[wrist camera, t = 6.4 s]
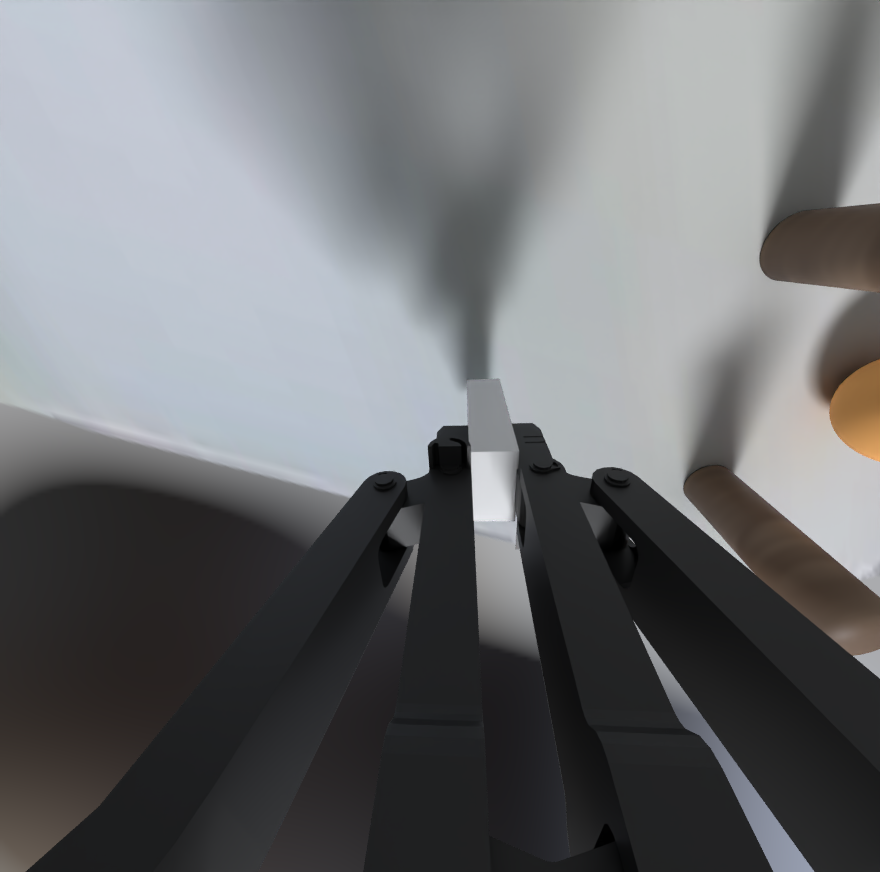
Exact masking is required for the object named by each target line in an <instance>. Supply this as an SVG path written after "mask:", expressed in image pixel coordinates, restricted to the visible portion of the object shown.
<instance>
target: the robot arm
mask: <svg viewBox="0 0 880 872" xmlns="http://www.w3.org/2000/svg"><path fill="white" fill-rule="evenodd" d="M467 417H468V426H443V427H442V428H441V429H440V430H439V431H438V432H437V439H435V440H433V441H432V442H430V444H429V445H428V456H429V473H428V474H426V475H425V476H423V477H420V478H417V479H414V480H409V481H406V479H405V476H403V475H402V474H400V473H397V472H394V471H384V472H379V473H376V474H374V475H372V476H370V477H369V478H367V479H366V480H365V481H364V482H363V484H362V485H361V486H360V487H359V488H358V490H357V491H356V492H355V493H354V495H353V496H352V497H351V498H350V499H349V501H348V502H347V503H346V504H345V506H344V507H343V508H342V509H341V511H340V512H339V513H338V514H337V515H336V517H335V518H334V519H333V520H332V522H331V523H330V524H329V525H328V526H327V528H326V529H325V530H324V531H323V533H322V534H321V535H320V536H319V538H318V539H317V540H316V541H315V542H314V544H313V545H312V546H311V547H310V549H309V550H308V551H307V552H306V554H305V555H304V556H303V557H302V559H301V560H300V561H299V562H298V563H297V565H296V566H295V567H294V568H293V570H292V571H291V572H290V573H289V574H288V576H287V577H286V578H285V579H284V580H283V582H282V583H281V584H280V585H279V587H278V588H277V589H276V590H275V591H274V593H273V594H272V595H271V596H270V598H269V599H268V600H267V601H266V602H265V604H264V605H263V606H262V607H261V609H260V610H259V611H258V612H257V613H256V615H255V616H254V617H253V618H252V620H251V621H250V622H249V623H248V624H247V626H246V627H245V628H244V630H243V631H242V632H241V633H240V634H239V636H238V637H237V638H236V639H235V641H234V642H233V643H232V644H231V645H230V647H229V648H228V649H227V650H226V651H225V653H224V654H223V655H222V656H221V658H220V659H219V660H218V661H217V663H216V664H215V665H214V666H213V668H212V669H211V670H210V671H209V672H208V674H207V675H206V676H205V677H204V679H203V680H202V681H201V682H200V683H199V685H198V686H197V687H196V688H195V689H194V691H193V692H192V693H191V695H190V696H189V697H188V698H187V699H186V701H185V702H184V703H183V704H182V705H181V707H180V708H179V709H178V711H177V712H176V713H175V714H174V715H173V716H172V718H171V719H170V720H169V721H168V723H167V724H166V725H165V726H164V728H163V729H162V730H161V731H160V732H159V734H158V735H157V736H156V737H155V738H154V740H153V741H152V742H151V744H150V745H149V746H148V747H147V748H146V750H145V751H144V752H143V753H142V754H141V756H140V757H139V758H138V759H137V761H136V762H135V763H134V764H133V765H132V767H131V768H130V769H129V770H128V772H127V773H126V774H125V775H124V776H123V778H122V779H121V780H120V781H119V783H118V784H117V785H116V786H115V788H114V789H113V790H112V791H111V792H110V794H109V795H108V796H107V797H106V799H105V800H104V801H103V802H102V803H101V805H100V806H99V807H98V808H97V809H96V810H94V811H93V812H92V813H91V814H90V815H89V816H88V817H87V818H85V819H84V821H82V822H81V823H80V824H79V825H78V826H76V827H75V829H73V830H72V831H71V832H70V833H69V834H67V835H66V836H65V837H64V838H63V839H62V840H61V841H60V842H59V843H57V844H56V845H55V846H54V847H53V848H52V849H51V850H50V851H48V852H47V853H46V854H45V855H44V856H43V857H42V858H41V859H39V860H38V861H37V862H36V863H35V864H34V865H33V866H32V867H30V869H28V870H27V871H26V872H258V870H259V869H260V867H261V865H262V863H263V861H264V859H265V857H266V855H267V853H268V851H269V849H270V847H271V845H272V843H273V841H274V838H275V836H276V834H277V832H278V830H279V828H280V826H281V824H282V822H283V820H284V818H285V816H286V813H287V811H288V809H289V807H290V805H291V803H292V801H293V799H294V797H295V795H296V792H297V791H298V788H299V786H300V784H301V782H302V780H303V778H304V776H305V774H306V772H307V770H308V768H309V766H310V764H311V761H312V759H313V757H314V755H315V753H316V751H317V749H318V747H319V745H320V743H321V740H322V738H323V736H324V734H325V732H326V730H327V728H328V726H329V724H330V722H331V720H332V718H333V716H334V714H335V711H336V709H337V707H338V705H339V703H340V701H341V699H342V697H343V695H344V693H345V690H346V688H347V686H348V684H349V682H350V680H351V678H352V676H353V674H354V672H355V670H356V668H357V666H358V664H359V662H360V659H361V657H362V655H363V653H364V651H365V649H366V647H367V645H368V643H369V641H370V639H371V637H372V634H373V632H374V630H375V628H376V626H377V624H378V622H379V620H380V618H381V616H382V614H383V612H384V609H385V607H386V605H387V603H388V601H389V599H390V597H391V595H392V593H393V591H394V589H395V587H396V584H397V582H398V580H399V578H400V576H401V574H402V572H403V570H404V568H405V566H406V564H407V562H408V559H409V557H410V555H411V553H412V551H413V546H414V545H415V544H419V548H418V555H417V562H416V570H415V576H414V583H413V590H412V597H411V605H410V612H409V619H408V626H407V633H406V641H405V647H404V654H403V662H402V669H401V676H400V683H399V690H398V697H397V704H396V710H395V714H394V717H393V719H392V721H391V722H390V723H389V725H388V728H387V731H386V735H385V739H384V745H383V750H382V756H381V762H380V768H379V774H378V781H377V787H376V794H375V800H374V807H373V813H372V819H371V826H370V833H369V839H368V845H367V851H366V858H365V865H364V871H363V872H773V870H772V868H771V866H770V864H769V862H768V860H767V859H766V856H765V854H764V852H763V850H762V848H761V846H760V844H759V842H758V840H757V838H756V836H755V834H754V832H753V830H752V828H751V826H750V824H749V822H748V820H747V818H746V816H745V814H744V812H743V810H742V808H741V806H740V804H739V802H738V800H737V797H736V796H735V793H734V791H733V789H732V787H731V785H730V783H729V781H728V779H727V777H726V775H725V773H724V771H723V769H722V768H721V765H720V764H719V762H718V760H717V759H716V757H715V755H714V753H713V752H712V750H711V748H710V747H709V746H708V745H707V744H706V743H705V742H704V740H703V739H702V738H701V737H700V736H699V735H697V734H695V733H693V732H691V731H689V730H687V729H685V728H684V727H683V725H682V724H681V723H680V722H679V720H678V718H677V716H676V714H675V712H674V710H673V708H672V706H671V704H670V702H669V699H668V697H667V695H666V693H665V690H664V688H663V686H662V684H661V681H660V679H659V677H658V675H657V672H656V670H655V668H654V666H653V664H652V661H651V659H650V657H649V655H648V653H647V651H646V648H645V646H644V644H643V641H642V639H641V637H640V635H639V632H638V630H637V628H636V626H635V624H634V622H635V623H636V625H637V626H638V628H639V629H640V630H641V632H642V633H643V634H644V636H645V637H646V639H647V640H648V641H649V642H650V644H651V646H652V647H653V648H654V650H655V651H656V652H657V654H658V655H659V657H660V658H661V659H662V661H663V662H664V663H665V665H666V666H667V668H668V669H669V670H670V672H671V673H672V675H673V676H674V677H675V679H676V680H677V681H678V683H679V684H680V686H681V687H682V688H683V690H684V691H685V693H686V694H687V695H688V697H689V698H690V700H691V701H692V702H693V704H694V705H695V706H696V708H697V709H698V711H699V712H700V713H701V715H702V716H703V718H704V719H705V720H706V721H707V723H708V724H709V726H710V727H711V729H712V730H713V731H714V733H715V734H716V736H717V737H718V738H719V740H720V741H721V743H722V744H723V745H724V747H725V748H726V749H727V751H728V752H729V754H730V755H731V756H732V758H733V759H734V761H735V762H736V763H737V765H738V766H739V767H740V769H741V770H742V772H743V773H744V774H745V776H746V777H747V779H748V780H749V781H750V783H751V784H752V785H753V787H754V788H755V790H756V791H757V792H758V794H759V795H760V797H761V798H762V799H763V801H764V802H765V804H766V805H767V806H768V808H769V809H770V810H771V812H772V813H773V815H774V816H775V817H776V819H777V820H778V821H779V823H780V824H781V826H782V827H783V829H784V830H785V831H786V833H787V834H788V835H789V837H790V838H791V840H792V841H793V842H794V844H795V845H796V847H797V848H798V849H799V851H800V852H801V853H802V855H803V856H804V858H805V859H806V860H807V862H808V863H809V865H810V866H811V867H812V869H813V870H814V871H815V872H880V679H879V678H878V677H877V676H876V675H875V674H873V673H872V672H871V671H870V670H869V669H867V668H866V667H865V666H864V665H863V664H861V663H860V662H859V661H858V660H857V659H855V658H854V657H853V656H852V655H851V654H850V653H848V652H847V651H846V650H845V649H844V648H842V647H841V646H840V645H839V644H838V643H836V642H835V641H834V640H833V639H832V638H830V637H829V636H828V635H827V634H826V633H824V632H823V631H822V630H821V629H820V628H818V627H817V626H816V625H815V624H814V623H812V622H811V621H810V620H809V619H808V618H806V617H805V616H804V615H803V614H802V613H800V612H799V611H798V610H797V609H796V608H794V607H793V606H792V605H791V604H790V603H788V602H787V601H786V600H785V599H784V598H783V597H781V596H780V595H779V594H778V593H777V592H775V591H774V590H773V589H772V588H771V587H769V586H768V585H767V584H766V583H765V582H763V581H762V580H761V579H760V578H759V577H757V576H756V575H755V574H754V573H753V572H751V571H750V570H749V569H748V568H747V567H745V566H744V565H743V564H742V563H741V562H739V561H738V560H737V559H736V558H735V557H733V556H732V555H731V554H730V553H729V552H727V551H726V550H725V549H724V548H723V547H721V546H720V545H719V544H718V543H717V542H715V541H714V540H713V539H712V538H711V537H709V536H708V535H707V534H706V533H705V532H703V531H702V530H701V529H700V528H699V527H698V526H696V525H695V524H694V523H693V522H692V521H690V520H689V519H688V518H687V517H686V516H684V515H683V514H682V513H681V512H680V511H678V510H677V509H676V508H675V507H674V506H672V505H671V504H670V503H669V502H668V501H666V500H665V499H664V498H663V497H662V496H660V495H659V494H658V493H657V492H656V491H654V490H653V489H652V488H651V487H650V486H648V485H647V484H646V483H645V482H644V481H642V480H641V479H640V478H639V477H638V476H636V475H634V474H633V473H631V472H629V471H626V470H623V469H621V468H615V467H607V468H601V469H597V470H596V471H595V472H594V473H593V476H592V479H589V478H584V477H578V476H574V475H571V474H568V473H567V472H566V470H565V468H564V466H563V465H562V464H561V463H560V462H558V461H556V460H555V459H553V458H552V456H551V453H550V451H549V449H548V446H547V444H546V443H545V439H544V437H543V434H542V432H541V430H540V429H539V428H538V427H537V426H535V425H534V424H533V423H518V424H512V423H511V419H510V416H509V412H508V408H507V405H506V401H505V397H504V394H503V390H502V386H501V383H500V379H475V380H467ZM515 513H516V515H517V533H516V549H519V548H520V553H521V558H522V564H523V569H524V575H525V580H526V586H527V591H528V596H529V602H530V607H531V612H532V618H533V623H534V629H535V634H536V639H537V645H538V650H539V656H540V661H541V667H542V672H543V678H544V683H545V689H546V694H547V699H548V705H549V710H550V716H551V721H552V727H553V732H554V738H555V743H556V748H557V754H558V759H559V765H560V770H561V775H562V781H563V786H564V793H565V802H566V822H567V833H568V843H569V850H570V856H571V857H570V858H567V859H564V860H561V861H558V862H548V861H545V860H543V859H540V858H538V857H535V856H534V855H531V854H529V853H527V852H525V851H522V850H520V849H518V848H515V847H513V846H511V845H508V844H506V843H504V842H502V841H500V840H497V839H495V838H493V837H490V836H489V822H488V802H487V781H486V760H485V740H484V727H483V717H482V698H481V674H480V655H479V653H480V652H479V633H478V632H479V631H478V609H477V608H478V607H477V585H476V564H475V541H474V521H515ZM629 537H630V538H631V539H632V540H633V542H634V543H635V544H634V543H633V542H632V541H631V540H630V539H629Z"/></svg>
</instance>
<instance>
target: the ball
mask: <svg viewBox="0 0 880 872" xmlns="http://www.w3.org/2000/svg"><path fill="white" fill-rule="evenodd" d="M829 414H830V421H831V424H832V426H833V429H834V431H835V432H836V434H837V435H838V437H839V438H840V439H841V440H842V441H843V442H844V443H845V444H846V445H848V446H849V447H850V448H852V449H853V450H854V451H856V452H858V453H860V454H862V455H863V456H866V457H868V458H870V459H873V460H876V461H879V462H880V359H878V360H876V361H873V362H871V363H869V364H867V365H865V366H863V367H861V368H860V369H858V370H857V371H855V372H854V373H852V374H851V375H850V376H849V377H848V378H846V379H845V380H844V381H843V382H842V383H841V385H840V386H839V387H838V389H837V390H836V392H835V393H834V396H833V398H832V400H831V404H830V411H829Z"/></svg>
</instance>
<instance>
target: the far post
mask: <svg viewBox="0 0 880 872" xmlns="http://www.w3.org/2000/svg"><path fill="white" fill-rule="evenodd" d="M684 494H685V496H686V497H687V498H688V499H689V500H690V501H691V502H692V504H693V505H694V506H695V507H696V508H697V509H698V510H699V511H700V513H701V514H702V515H703V516H704V517H705V518H706V519H707V521H708V522H709V523H710V524H711V525H712V526H713V527H714V528H715V530H716V531H717V532H718V533H719V534H720V535H721V536H722V537H723V539H724V540H725V541H726V542H727V543H728V544H729V545H730V546H731V548H732V549H733V550H734V551H735V552H736V553H737V554H738V556H739V557H740V558H741V559H742V560H743V561H744V562H745V563H746V565H747V566H748V567H749V568H750V569H751V570H752V571H753V572H754V574H755V575H756V576H757V577H759V578H760V579H761V580H762V581H763V582H765V583H766V584H767V585H768V586H769V587H771V588H772V589H773V590H774V591H775V592H777V593H778V594H779V595H780V596H781V597H783V598H784V599H785V600H786V601H787V602H788V603H790V604H791V605H792V606H793V607H794V608H796V609H797V610H798V611H799V612H800V613H802V614H803V615H804V616H805V617H806V618H808V619H809V620H810V621H811V622H812V623H814V624H815V625H816V626H817V627H818V628H820V629H821V630H822V631H823V632H824V633H826V634H827V635H828V636H829V637H830V638H832V639H833V640H834V641H835V642H836V643H838V644H839V645H840V646H841V647H842V648H844V649H845V650H846V651H847V652H848V653H850V654H851V655H852V656H854V655H861V654H865V653H869V652H872V651H875V650H878V649H880V597H879V596H877V595H876V594H875V593H874V592H873V591H871V590H870V589H869V588H868V587H867V586H866V585H864V584H863V583H862V582H861V581H860V580H859V579H857V578H856V577H855V576H854V575H853V574H851V573H850V572H849V571H848V570H847V569H846V568H844V567H843V566H842V565H841V564H840V563H838V562H837V561H836V560H835V559H834V558H833V557H831V556H830V555H829V554H828V553H827V552H825V551H824V550H823V549H822V548H821V547H820V546H818V545H817V544H816V543H815V542H814V541H813V540H811V539H810V538H809V537H808V536H807V535H805V534H804V533H803V532H802V531H801V530H800V529H798V528H797V527H796V526H795V525H794V524H792V523H791V522H790V521H789V520H788V519H787V518H785V517H784V516H783V515H782V514H781V513H779V512H778V511H777V510H776V509H775V508H774V507H772V506H771V505H770V504H769V503H768V502H767V501H765V500H764V499H763V498H762V497H761V496H759V495H758V494H757V493H756V492H755V491H754V490H752V489H751V488H750V487H749V486H748V485H746V484H745V483H744V482H743V481H742V480H741V479H739V478H738V477H737V476H736V475H735V474H733V473H732V472H731V471H730V470H729V469H727V468H726V467H723V466H719V465H712V466H707V467H703V468H701V469H699V470H697V471H695V472H694V473H693V474H691V475H690V476H689V477H688V479H687V480H686V482H685V484H684Z"/></svg>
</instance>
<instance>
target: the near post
mask: <svg viewBox="0 0 880 872" xmlns="http://www.w3.org/2000/svg"><path fill="white" fill-rule="evenodd" d="M760 265H761V268H762V271H763V272H764V274H765V275H766V276H767V277H769V278H771V279H773V280H777V281H786V282H794V283H803V284H811V285H820V286H828V287H837V288H845V289H854V290H862V291H871V292H879V293H880V203H879V204H868V205H858V206H847V207H837V208H827V209H816V210H807V211H801V212H798V213H795V214H793V215H791V216H789V217H788V218H786V219H784V220H783V221H782V222H781V223H779V224H778V225H777V226H776V227H775V228H774V229H773V230H772V232H771V233H770V234H769V236H768V237H767V239H766V241H765V243H764V245H763V247H762V250H761V255H760Z"/></svg>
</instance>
